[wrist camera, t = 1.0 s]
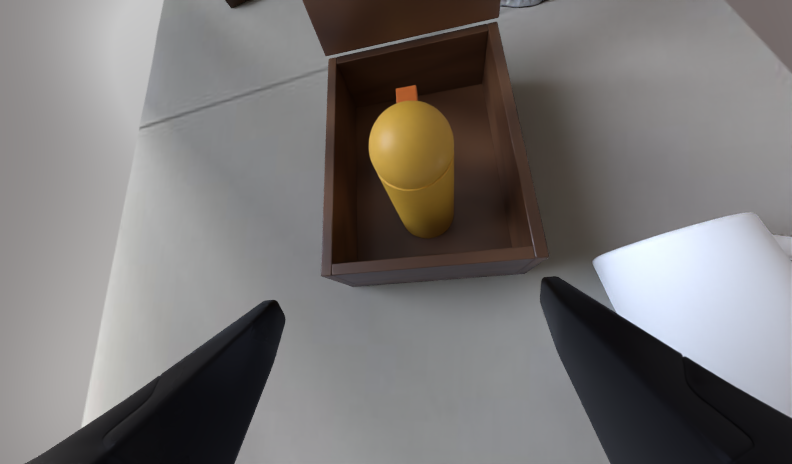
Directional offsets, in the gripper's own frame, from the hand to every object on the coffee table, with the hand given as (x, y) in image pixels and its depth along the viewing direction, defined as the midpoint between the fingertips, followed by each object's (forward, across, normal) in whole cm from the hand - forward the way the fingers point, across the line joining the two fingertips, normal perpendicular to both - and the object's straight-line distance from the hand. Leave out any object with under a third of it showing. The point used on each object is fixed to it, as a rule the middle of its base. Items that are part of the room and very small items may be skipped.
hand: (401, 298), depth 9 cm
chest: (+19, 0, +2) cm, 19 cm away
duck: (+15, 0, +4) cm, 16 cm away
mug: (+9, -18, +12) cm, 23 cm away
